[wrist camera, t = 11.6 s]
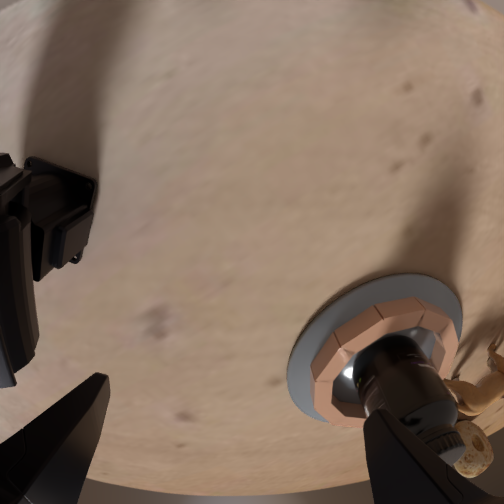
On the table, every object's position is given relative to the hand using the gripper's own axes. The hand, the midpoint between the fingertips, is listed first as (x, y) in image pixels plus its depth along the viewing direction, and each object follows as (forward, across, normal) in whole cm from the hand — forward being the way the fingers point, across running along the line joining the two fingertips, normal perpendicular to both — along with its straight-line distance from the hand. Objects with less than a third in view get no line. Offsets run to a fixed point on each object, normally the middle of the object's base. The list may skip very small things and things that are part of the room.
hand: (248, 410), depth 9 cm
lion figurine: (+13, -30, +8) cm, 33 cm away
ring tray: (+13, -15, +8) cm, 21 cm away
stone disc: (+13, -38, +21) cm, 45 cm away
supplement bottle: (+13, -15, +7) cm, 21 cm away
